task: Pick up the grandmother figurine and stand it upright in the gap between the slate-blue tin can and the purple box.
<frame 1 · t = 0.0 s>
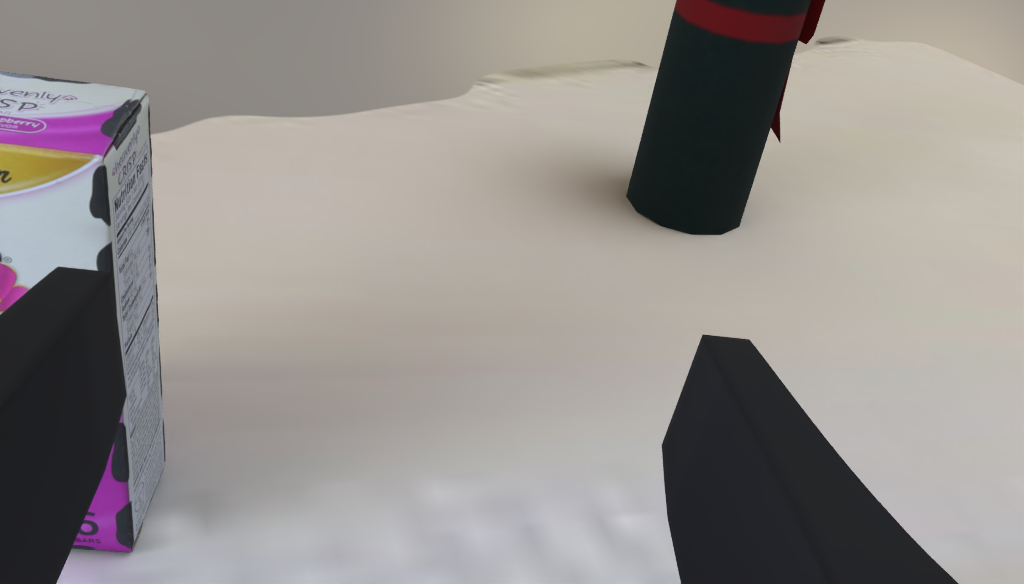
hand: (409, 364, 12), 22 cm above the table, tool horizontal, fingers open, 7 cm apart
wine bottle: (696, 204, 66), on the table
candy bar box: (2, 504, 37), on the table
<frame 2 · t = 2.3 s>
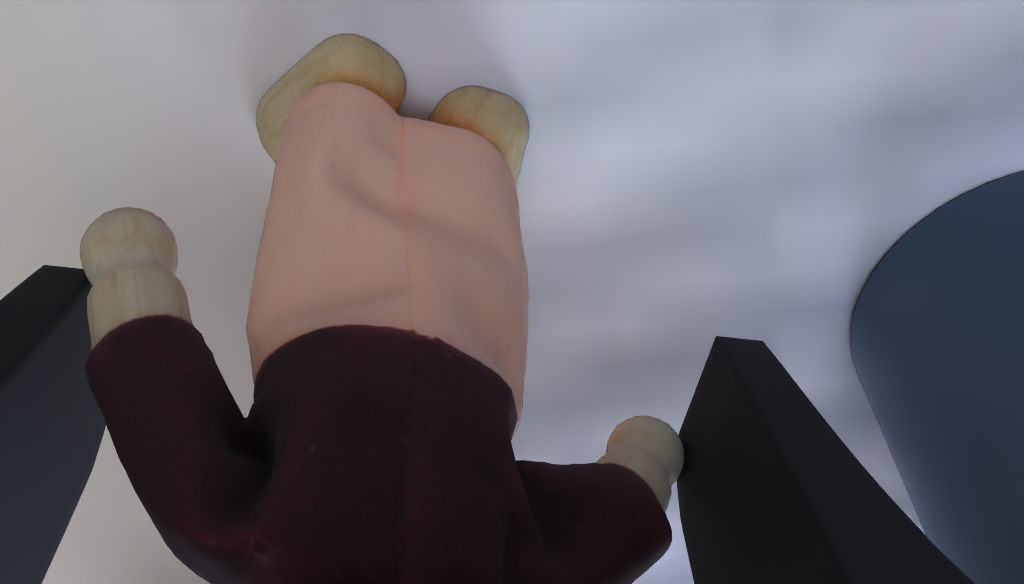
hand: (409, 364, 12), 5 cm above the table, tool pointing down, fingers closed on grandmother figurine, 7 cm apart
tin can: (1022, 308, 19), on the table
grandmother figurine: (430, 140, 17), on the table, touching gripper
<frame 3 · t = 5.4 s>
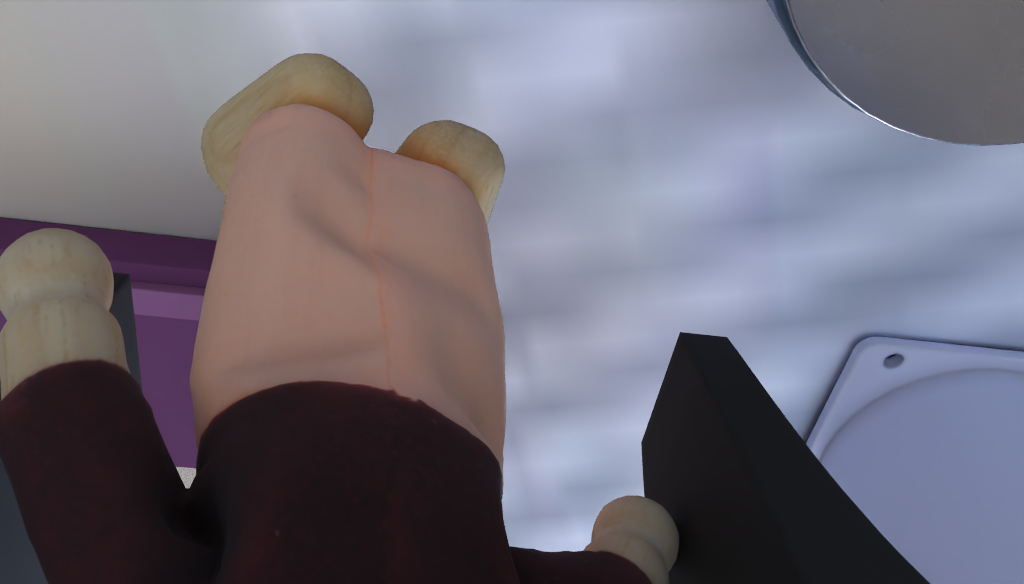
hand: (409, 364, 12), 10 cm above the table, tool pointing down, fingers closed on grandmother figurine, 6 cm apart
grandmother figurine: (393, 176, 15), point 6 cm above the table, touching gripper
purple box: (189, 344, 26), on the table
when the fingers open (4 cm above the table, at t = 8.1 s): grandmother figurine stays where it is, on the table.
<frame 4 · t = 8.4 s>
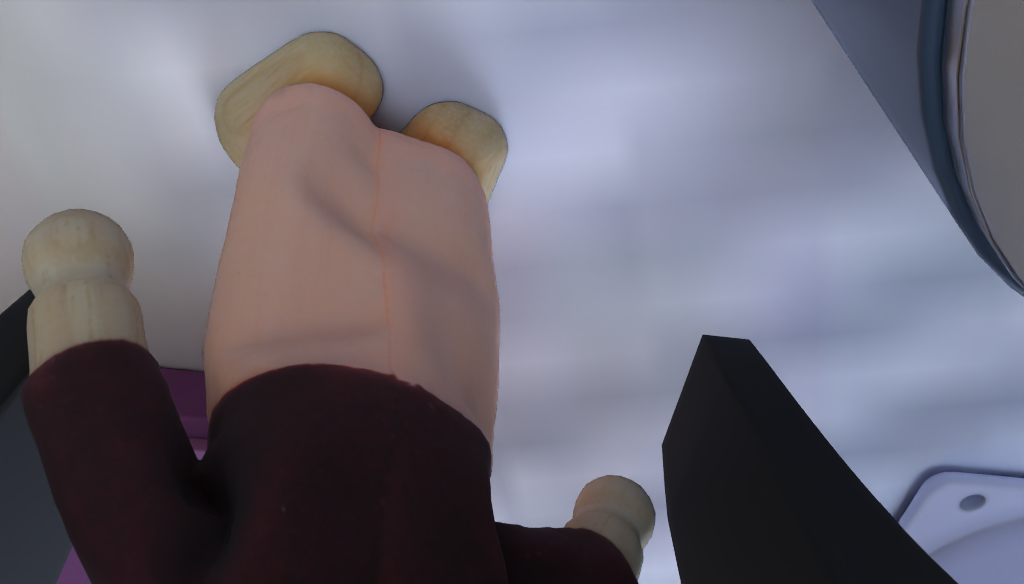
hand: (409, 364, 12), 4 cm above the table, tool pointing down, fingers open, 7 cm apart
grandmother figurine: (399, 152, 16), on the table
purple box: (78, 481, 20), on the table
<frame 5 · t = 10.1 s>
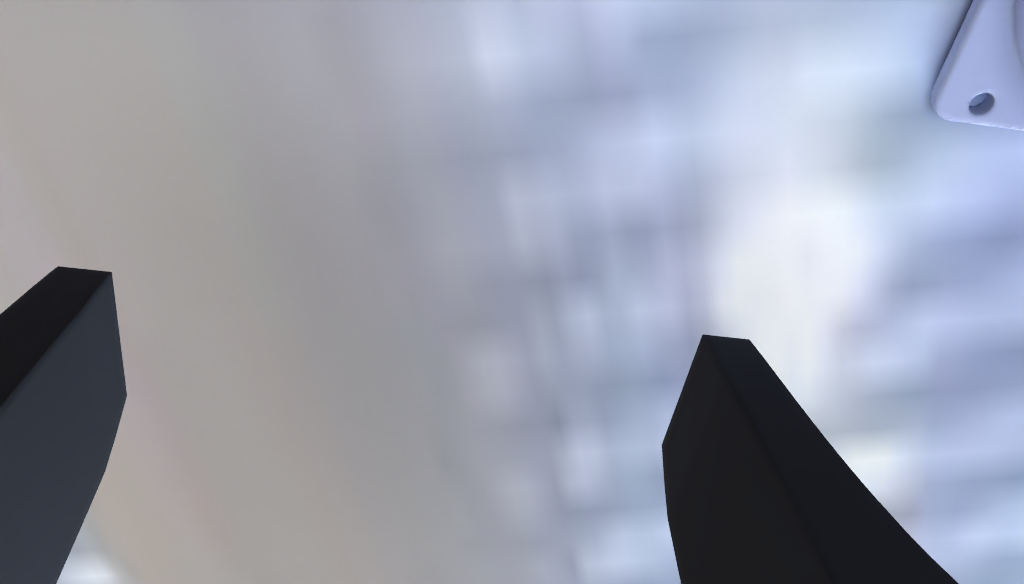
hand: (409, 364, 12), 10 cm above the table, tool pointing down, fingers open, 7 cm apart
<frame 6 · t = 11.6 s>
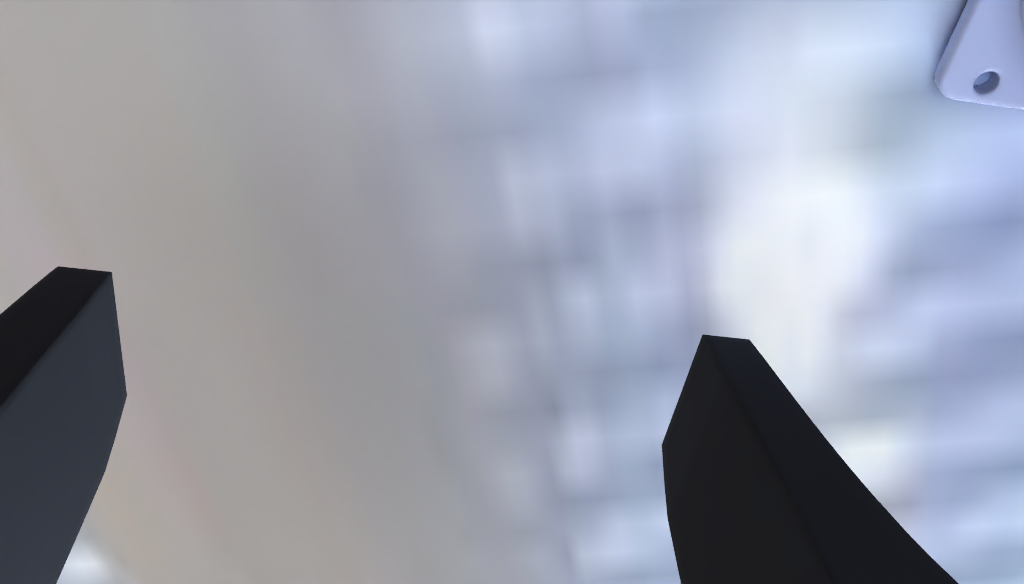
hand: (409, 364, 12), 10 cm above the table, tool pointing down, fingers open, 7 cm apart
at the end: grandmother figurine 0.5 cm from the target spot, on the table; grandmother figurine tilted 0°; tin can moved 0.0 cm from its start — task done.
